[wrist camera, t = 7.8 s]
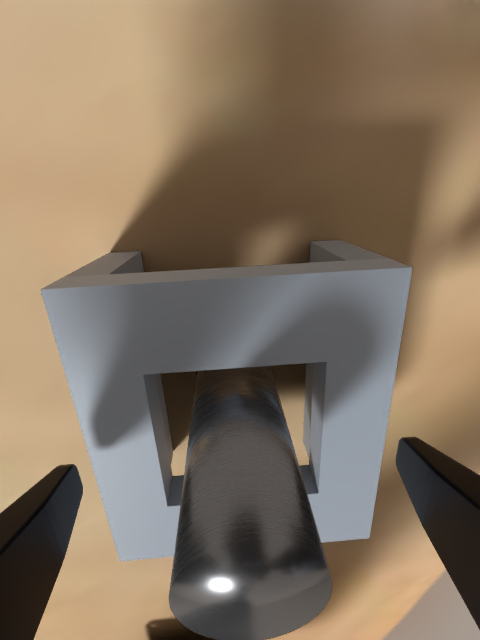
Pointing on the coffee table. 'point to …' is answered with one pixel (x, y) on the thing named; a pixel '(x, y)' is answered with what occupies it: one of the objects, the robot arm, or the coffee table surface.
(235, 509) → the long pin
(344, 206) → the coffee table surface
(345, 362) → the frame
